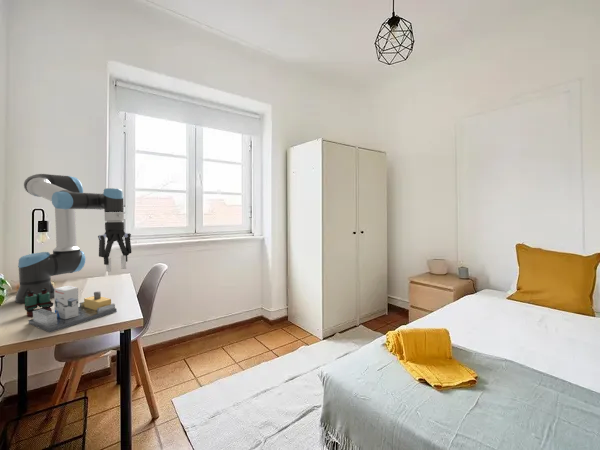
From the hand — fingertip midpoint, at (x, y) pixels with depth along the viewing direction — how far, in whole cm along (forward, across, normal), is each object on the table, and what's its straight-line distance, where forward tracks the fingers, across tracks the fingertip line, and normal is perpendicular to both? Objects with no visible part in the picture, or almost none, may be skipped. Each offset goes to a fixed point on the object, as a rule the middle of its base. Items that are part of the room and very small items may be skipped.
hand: (116, 270), depth 130 cm
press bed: (+17, -17, 0) cm, 24 cm away
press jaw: (+15, -8, 0) cm, 18 cm away
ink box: (+16, -20, 0) cm, 25 cm away
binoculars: (+17, -22, +19) cm, 34 cm away
